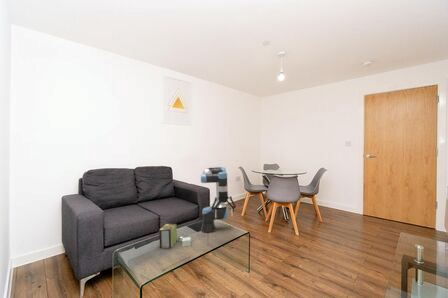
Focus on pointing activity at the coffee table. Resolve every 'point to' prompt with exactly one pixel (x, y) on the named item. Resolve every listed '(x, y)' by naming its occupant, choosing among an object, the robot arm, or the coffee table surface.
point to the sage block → (186, 241)
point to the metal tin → (180, 238)
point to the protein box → (168, 235)
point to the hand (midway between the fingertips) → (224, 216)
